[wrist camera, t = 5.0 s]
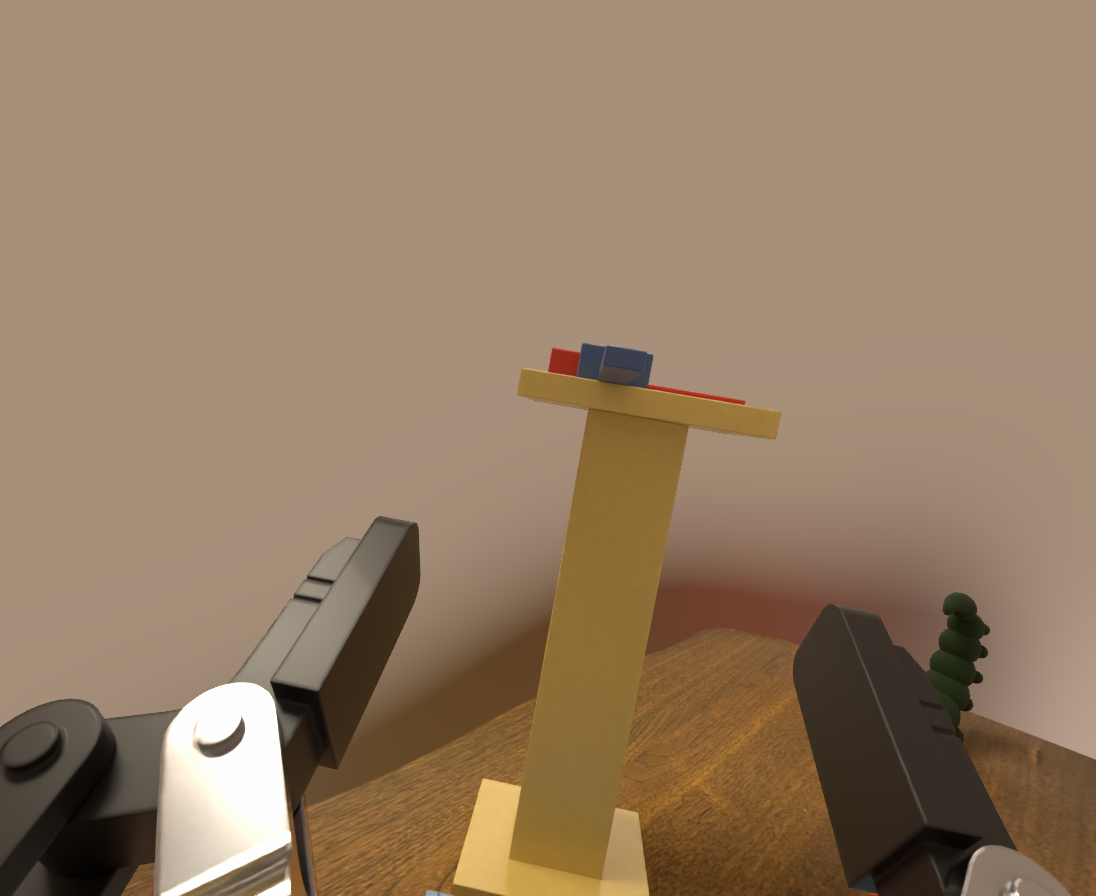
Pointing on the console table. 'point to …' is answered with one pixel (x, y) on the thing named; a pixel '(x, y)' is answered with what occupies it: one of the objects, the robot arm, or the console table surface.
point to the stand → (593, 648)
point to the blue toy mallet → (615, 365)
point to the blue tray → (435, 893)
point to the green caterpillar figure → (958, 656)
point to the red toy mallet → (568, 365)
